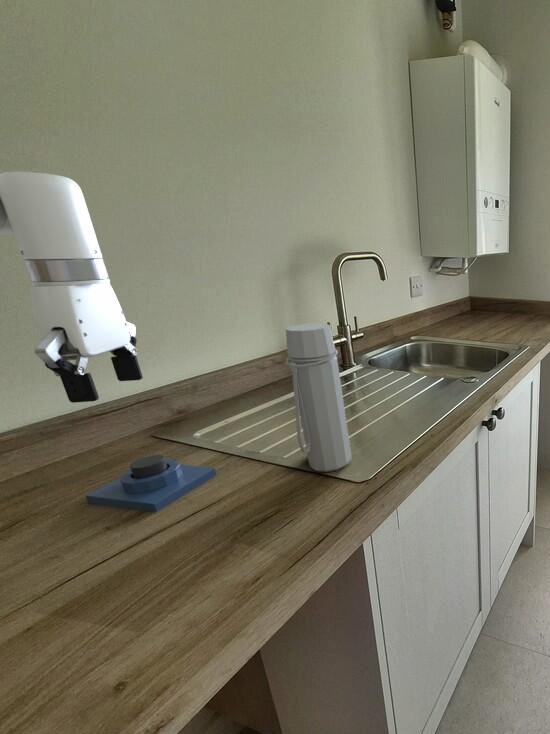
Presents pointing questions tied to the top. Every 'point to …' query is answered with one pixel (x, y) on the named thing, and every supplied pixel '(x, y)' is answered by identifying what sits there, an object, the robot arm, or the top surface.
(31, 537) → the top surface
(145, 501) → the blue base plate
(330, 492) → the top surface
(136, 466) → the dark grey round knob
